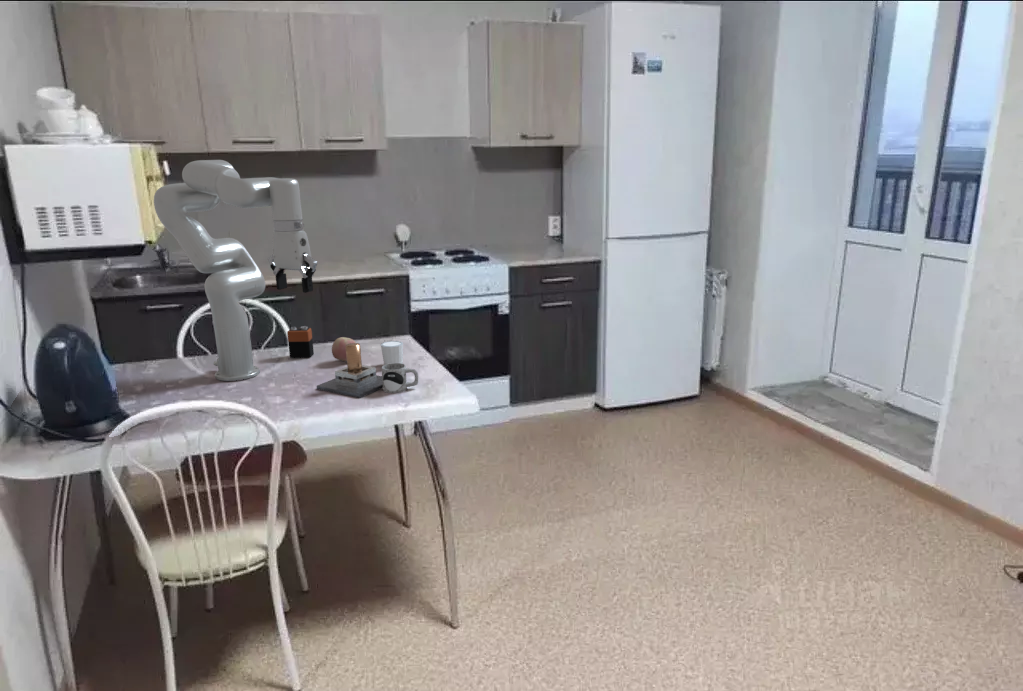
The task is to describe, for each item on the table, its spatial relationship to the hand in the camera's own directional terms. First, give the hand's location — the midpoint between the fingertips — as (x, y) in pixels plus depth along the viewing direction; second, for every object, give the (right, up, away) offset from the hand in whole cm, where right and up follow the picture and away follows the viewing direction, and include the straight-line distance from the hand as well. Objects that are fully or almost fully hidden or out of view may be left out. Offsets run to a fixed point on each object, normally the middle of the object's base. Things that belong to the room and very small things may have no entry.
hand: (295, 290), depth 192 cm
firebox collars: (+15, -26, +10) cm, 32 cm away
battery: (-10, -19, +39) cm, 44 cm away
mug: (+28, -27, +7) cm, 39 cm away
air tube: (+14, -25, +10) cm, 31 cm away
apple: (+6, -20, +32) cm, 39 cm away
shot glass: (+22, -21, +28) cm, 41 cm away
